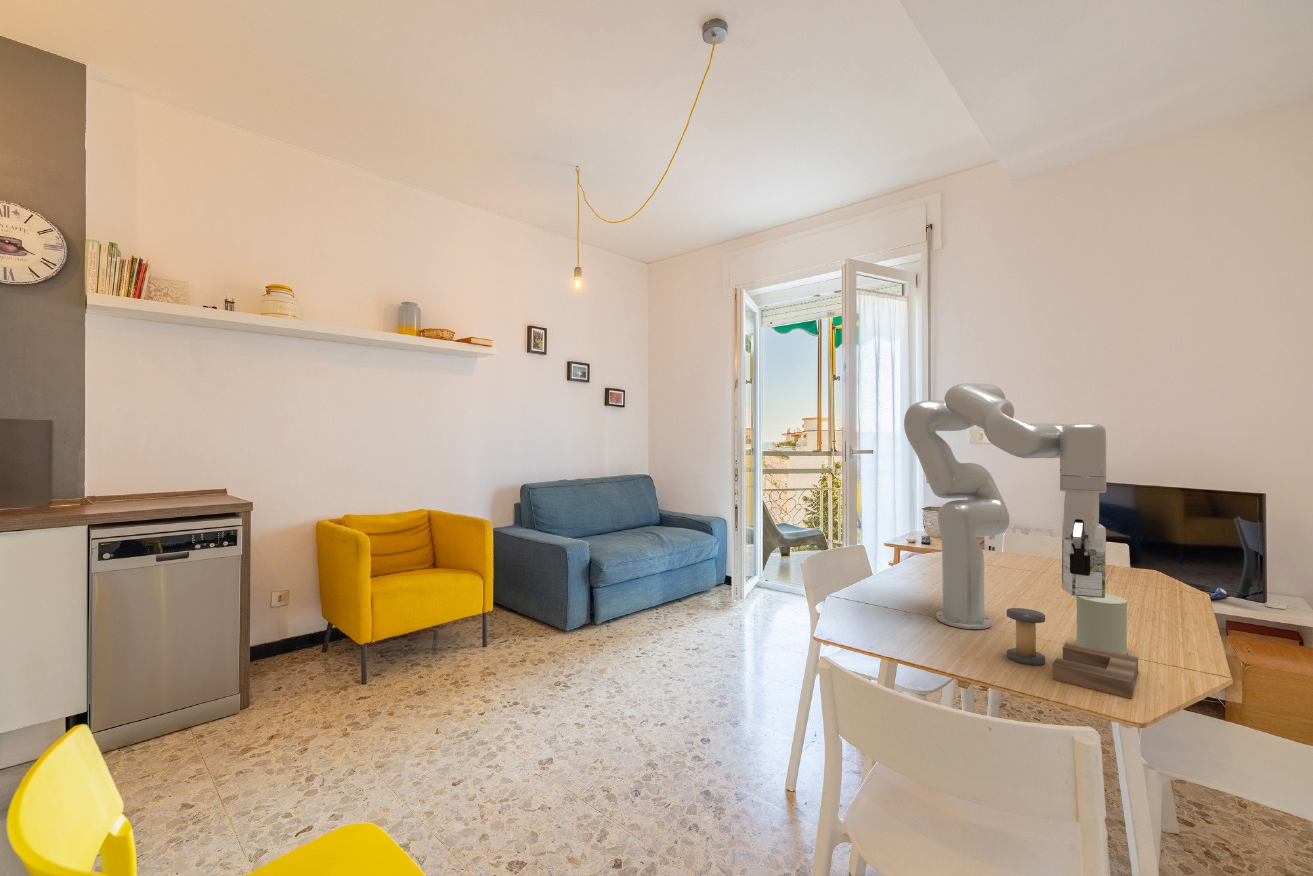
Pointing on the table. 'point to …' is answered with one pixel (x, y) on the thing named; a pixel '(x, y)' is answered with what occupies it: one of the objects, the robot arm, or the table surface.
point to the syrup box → (1096, 579)
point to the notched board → (1097, 669)
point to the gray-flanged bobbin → (1026, 636)
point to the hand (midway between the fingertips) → (1082, 570)
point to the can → (1102, 623)
